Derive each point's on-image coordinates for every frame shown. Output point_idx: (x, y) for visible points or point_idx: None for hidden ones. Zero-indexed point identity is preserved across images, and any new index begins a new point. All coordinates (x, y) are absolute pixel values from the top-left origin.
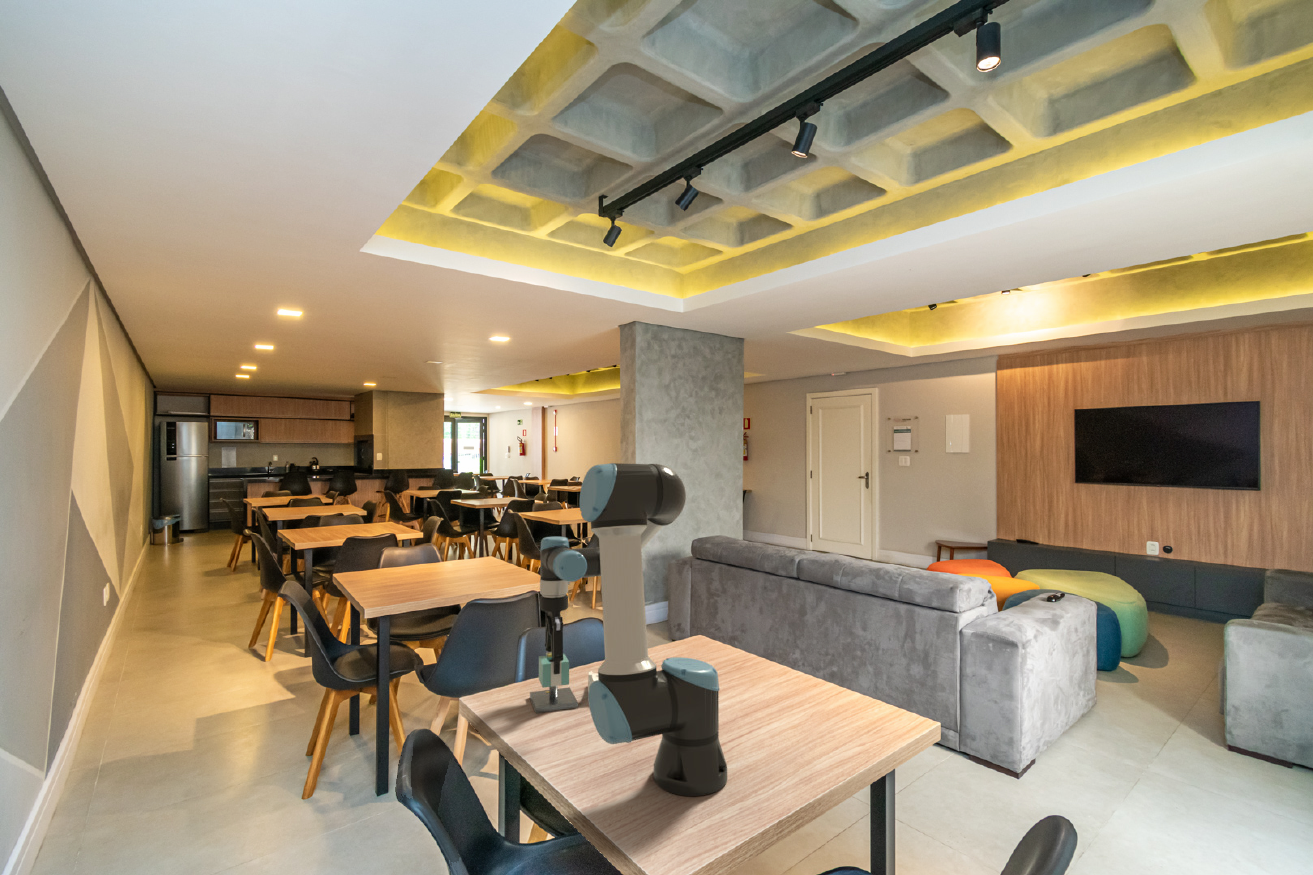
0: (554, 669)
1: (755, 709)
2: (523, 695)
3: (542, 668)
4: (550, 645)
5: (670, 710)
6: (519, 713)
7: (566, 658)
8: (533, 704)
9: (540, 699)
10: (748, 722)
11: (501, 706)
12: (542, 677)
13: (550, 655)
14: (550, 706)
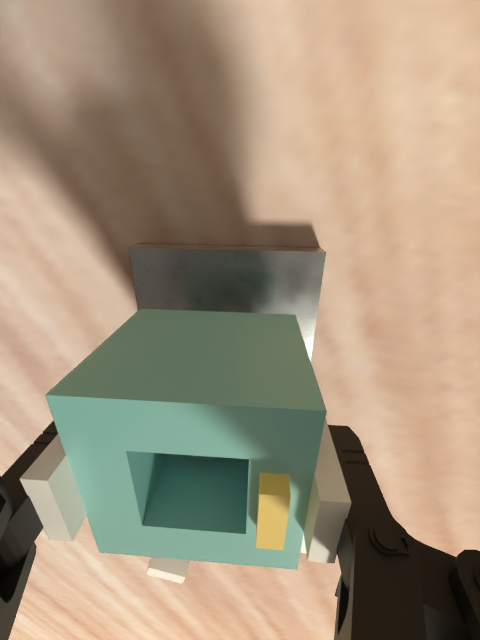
0: (40, 438)
1: (82, 622)
2: (363, 222)
3: (86, 369)
4: (345, 626)
5: None
6: (152, 171)
7: (174, 555)
8: (201, 246)
9: (214, 283)
10: (28, 599)
11: (266, 78)
12: (119, 333)
13: (259, 500)
14: (139, 308)
